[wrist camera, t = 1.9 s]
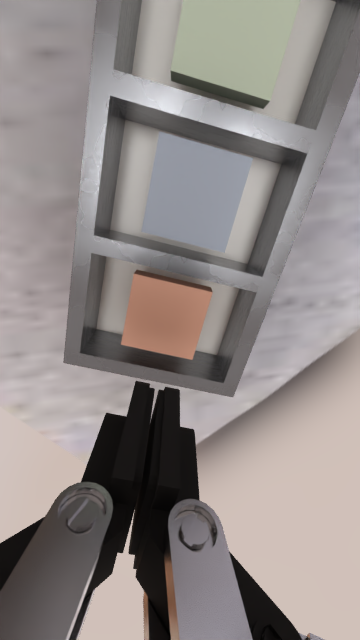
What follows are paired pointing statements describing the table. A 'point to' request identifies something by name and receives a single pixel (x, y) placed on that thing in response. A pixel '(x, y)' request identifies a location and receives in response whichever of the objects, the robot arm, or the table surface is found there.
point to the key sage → (233, 47)
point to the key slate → (194, 192)
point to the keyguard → (217, 129)
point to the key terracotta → (165, 314)
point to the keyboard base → (141, 144)
